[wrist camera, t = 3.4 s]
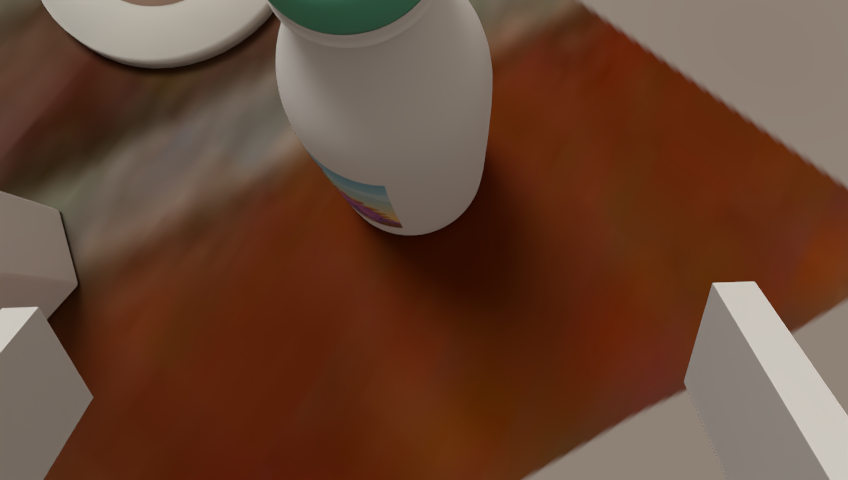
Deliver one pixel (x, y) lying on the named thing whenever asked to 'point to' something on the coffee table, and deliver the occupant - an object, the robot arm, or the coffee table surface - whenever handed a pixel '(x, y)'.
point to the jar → (33, 256)
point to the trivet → (159, 28)
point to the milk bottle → (389, 103)
